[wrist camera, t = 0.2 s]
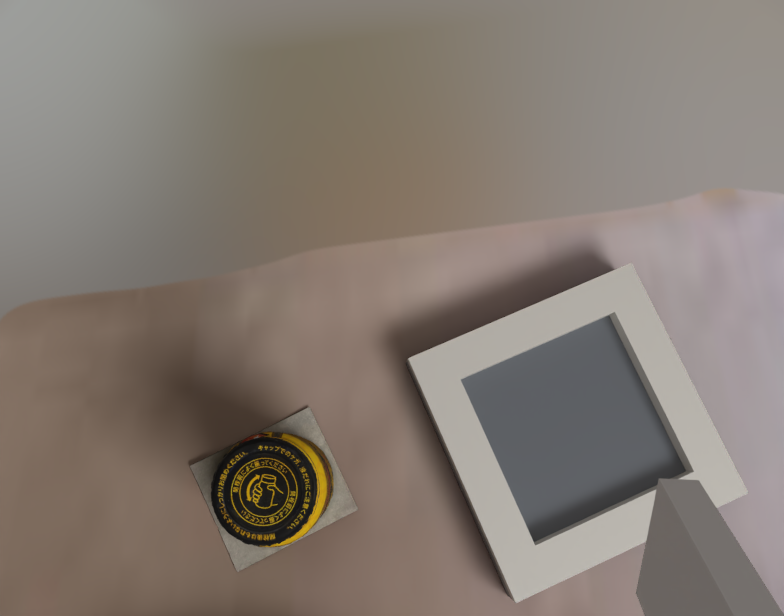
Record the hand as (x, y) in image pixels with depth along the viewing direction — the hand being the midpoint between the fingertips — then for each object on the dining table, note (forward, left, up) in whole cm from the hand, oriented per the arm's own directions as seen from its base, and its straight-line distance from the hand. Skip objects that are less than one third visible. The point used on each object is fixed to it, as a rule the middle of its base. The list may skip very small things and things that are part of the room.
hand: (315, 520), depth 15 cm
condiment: (+2, +5, -35) cm, 35 cm away
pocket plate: (-2, -14, -35) cm, 38 cm away
